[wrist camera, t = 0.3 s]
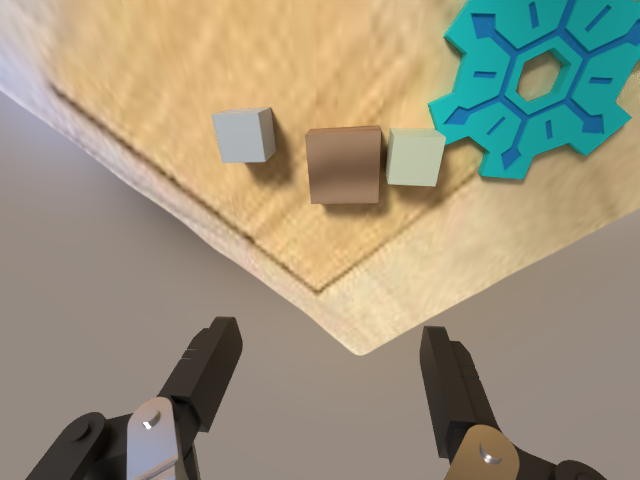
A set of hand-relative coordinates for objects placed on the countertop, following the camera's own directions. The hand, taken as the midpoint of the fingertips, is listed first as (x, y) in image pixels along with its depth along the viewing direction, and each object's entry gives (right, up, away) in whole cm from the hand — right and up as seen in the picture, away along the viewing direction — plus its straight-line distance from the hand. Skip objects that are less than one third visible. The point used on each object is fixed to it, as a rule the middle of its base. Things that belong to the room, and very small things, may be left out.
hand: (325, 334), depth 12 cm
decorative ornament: (+21, +21, +17) cm, 34 cm away
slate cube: (-8, +17, +23) cm, 30 cm away
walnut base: (+3, +14, +23) cm, 27 cm away
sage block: (+12, +13, +19) cm, 26 cm away
